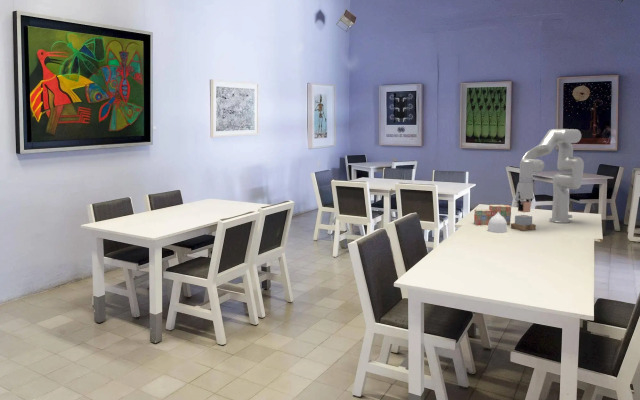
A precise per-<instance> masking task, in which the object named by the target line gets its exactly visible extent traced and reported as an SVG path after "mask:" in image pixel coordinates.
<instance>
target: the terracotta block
mask: <svg viewBox="0 0 640 400" xmlns="http://www.w3.org/2000/svg"><path fill="white" fill-rule="evenodd" d="M531 205H532V202H528V201H526V200H523V211H519V210H518V209H517V212H521V213H530V212H531Z"/></svg>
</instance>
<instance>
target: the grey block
mask: <svg viewBox="0 0 640 400" xmlns="http://www.w3.org/2000/svg"><path fill="white" fill-rule="evenodd" d="M514 223H515V224H518V225H523V226H525V225H532V224H533V216H532V215H526V214H519V215H515V216H514Z"/></svg>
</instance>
